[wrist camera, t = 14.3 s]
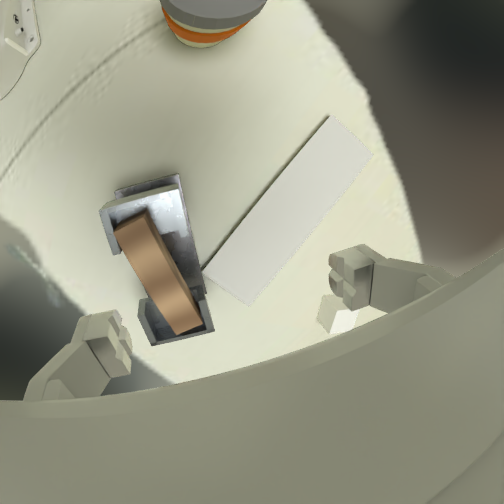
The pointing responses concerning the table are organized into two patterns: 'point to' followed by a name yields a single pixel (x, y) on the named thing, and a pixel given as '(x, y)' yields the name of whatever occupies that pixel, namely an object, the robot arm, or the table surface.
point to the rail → (158, 271)
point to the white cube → (336, 315)
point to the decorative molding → (288, 211)
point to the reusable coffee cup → (208, 19)
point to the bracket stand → (176, 240)
